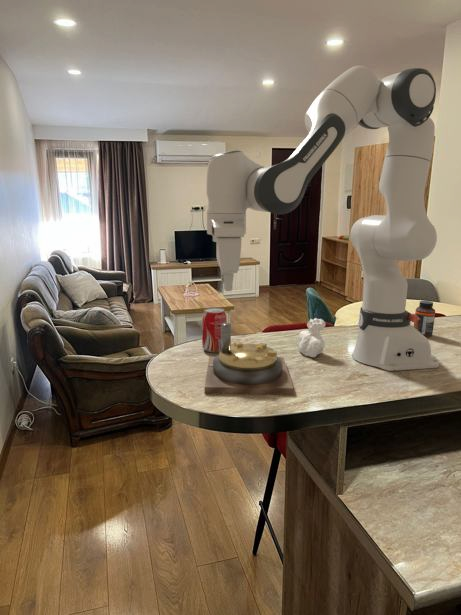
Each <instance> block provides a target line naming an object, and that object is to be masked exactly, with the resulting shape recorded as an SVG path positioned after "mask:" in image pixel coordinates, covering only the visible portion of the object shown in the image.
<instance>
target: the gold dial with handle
mask: <svg viewBox="0 0 461 615" xmlns="http://www.w3.org/2000/svg"><path fill="white" fill-rule="evenodd" d="M231 338H232V324H231V323H229V322H227V323H222V324H221V350H220V352H218V355H219V362H220V363H221V364H222V365H223V366H225V367H227V368H229V369H233V370H238V371H261V370H266V369H269V368H272V367H273V366H275V365H276V362H277V357H278V350H274V349H273V348H271V347H270V346H269V347H268V344H267V343H264V342H259V343H257V344H255V343H254V344H253V343H242V342H241V341H234V342H233V344H231V343H232V342H231V341H232V340H231Z"/></svg>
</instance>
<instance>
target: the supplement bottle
mask: <svg viewBox="0 0 461 615" xmlns="http://www.w3.org/2000/svg"><path fill="white" fill-rule="evenodd" d="M433 307H434V302H433V301H429V300H420V301H419V306H417V307H416V308H415V313H414V314H415V315H417V317H419V318H418V319H417V320H418V321H417V322H415V323H414V322H413V327H414V328H415V329H417V330H418V331H419V332H420V333H421V334H422V335H424V336H425V337H426V338H431V337H432V336H433V334H434V325H435V316H436V310H435V308H433Z"/></svg>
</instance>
